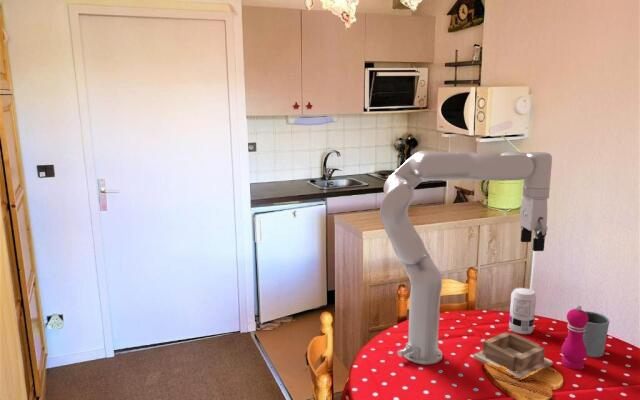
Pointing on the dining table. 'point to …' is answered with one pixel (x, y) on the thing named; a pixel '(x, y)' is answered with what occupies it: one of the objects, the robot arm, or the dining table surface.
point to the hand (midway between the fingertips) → (531, 246)
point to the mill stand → (513, 354)
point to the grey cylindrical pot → (595, 334)
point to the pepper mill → (575, 339)
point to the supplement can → (522, 310)
